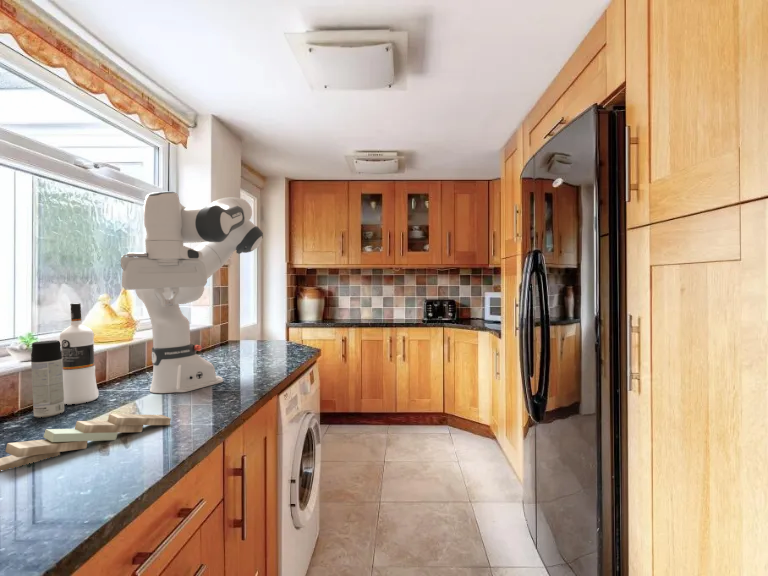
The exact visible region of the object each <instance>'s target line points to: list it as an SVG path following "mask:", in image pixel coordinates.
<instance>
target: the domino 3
mask: <svg viewBox="0 0 768 576" xmlns="http://www.w3.org/2000/svg"><path fill="white" fill-rule="evenodd" d="M118 433H119V432H115V433H83V432H81V431H78V430H76V429H75V428H53V429H52V428H46V429H45V431H44V434H43V438H44V439H47V440H49V441H51V442H70V441H88V442H95V441H98V442H99V441H116V440H117V437H118Z"/></svg>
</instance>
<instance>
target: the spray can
mask: <svg viewBox="0 0 768 576" xmlns="http://www.w3.org/2000/svg"><path fill="white" fill-rule="evenodd" d="M30 358H31V359H30V361H31V362H30V363H31V367H30V368H31V386H32V389H31V390H32V404H33V405H32V406H33V410H32V411H33V416H34V418H41V417H42V418H48V417H53V416H57V415H60V413H61V414H62V413H64V412H65V404H64V390H63V368H62V351H61V342H60V340H56V339H55V340H53V339H52V340H41V341H36V342H35V341H34V342H32V343H31V354H30Z"/></svg>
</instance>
